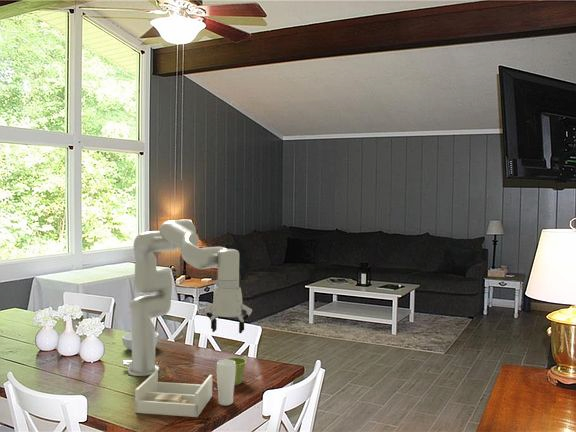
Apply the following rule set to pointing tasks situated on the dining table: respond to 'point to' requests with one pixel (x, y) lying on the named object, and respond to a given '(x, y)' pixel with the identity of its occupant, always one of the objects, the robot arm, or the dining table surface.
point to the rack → (190, 392)
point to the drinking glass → (226, 381)
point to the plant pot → (239, 369)
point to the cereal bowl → (128, 340)
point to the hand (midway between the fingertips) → (227, 331)
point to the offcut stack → (170, 398)
